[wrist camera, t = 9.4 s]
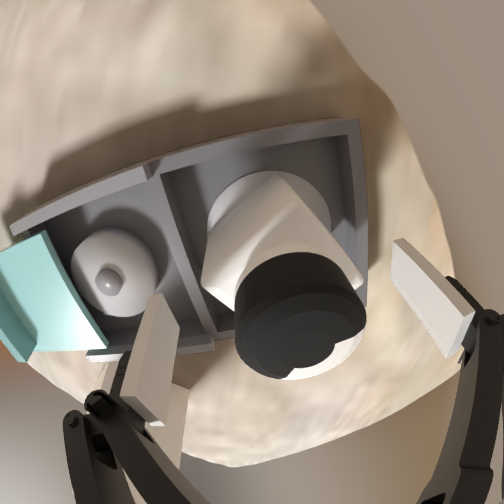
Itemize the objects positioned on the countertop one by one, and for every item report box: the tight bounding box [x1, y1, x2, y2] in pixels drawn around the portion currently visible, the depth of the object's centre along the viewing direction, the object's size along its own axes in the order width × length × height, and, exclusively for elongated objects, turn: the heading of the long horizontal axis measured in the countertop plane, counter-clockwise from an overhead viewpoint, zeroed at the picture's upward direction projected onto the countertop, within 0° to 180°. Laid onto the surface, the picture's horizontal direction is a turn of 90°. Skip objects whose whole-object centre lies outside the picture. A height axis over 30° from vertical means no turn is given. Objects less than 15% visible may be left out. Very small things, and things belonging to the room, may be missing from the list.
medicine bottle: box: [201, 173, 366, 380], centre depth 16 cm, size 7×7×12 cm
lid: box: [0, 230, 109, 362], centre depth 19 cm, size 12×13×4 cm
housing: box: [9, 117, 368, 362], centre depth 21 cm, size 16×28×5 cm, turn 102°
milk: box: [72, 361, 190, 504], centre depth 22 cm, size 12×12×26 cm
